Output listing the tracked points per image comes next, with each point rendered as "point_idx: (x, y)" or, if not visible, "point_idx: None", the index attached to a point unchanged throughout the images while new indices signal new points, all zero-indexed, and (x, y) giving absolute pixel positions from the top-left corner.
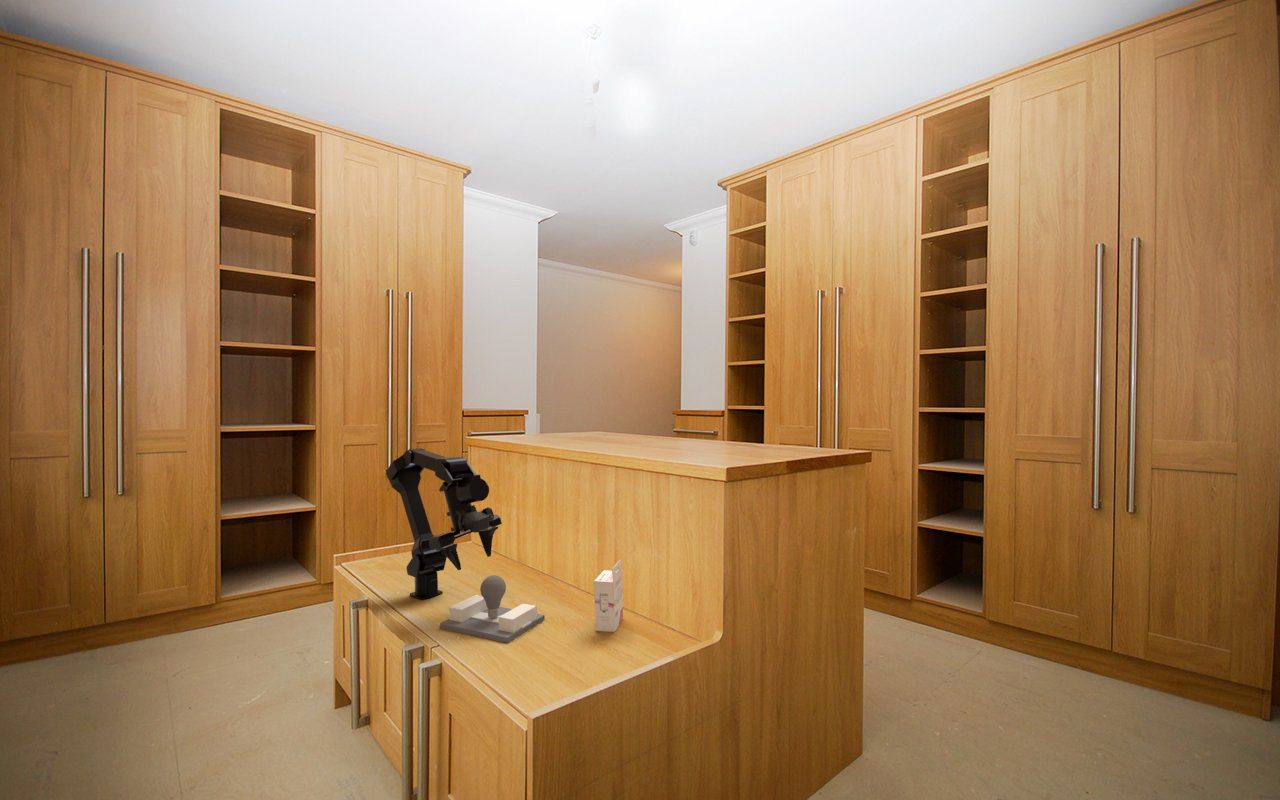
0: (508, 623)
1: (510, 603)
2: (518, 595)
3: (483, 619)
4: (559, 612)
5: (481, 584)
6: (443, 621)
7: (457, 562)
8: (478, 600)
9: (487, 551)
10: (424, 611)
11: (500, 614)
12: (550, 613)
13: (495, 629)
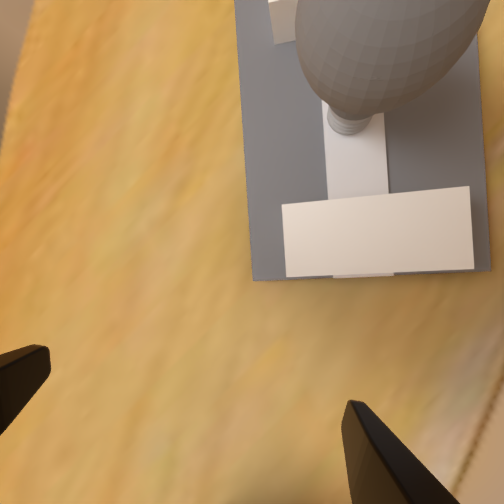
0: None
1: (179, 216)
2: (116, 245)
3: (384, 134)
4: (167, 13)
5: (468, 32)
6: (470, 270)
7: (421, 471)
8: (334, 209)
9: (1, 392)
10: None
11: (303, 128)
12: (186, 32)
13: None
